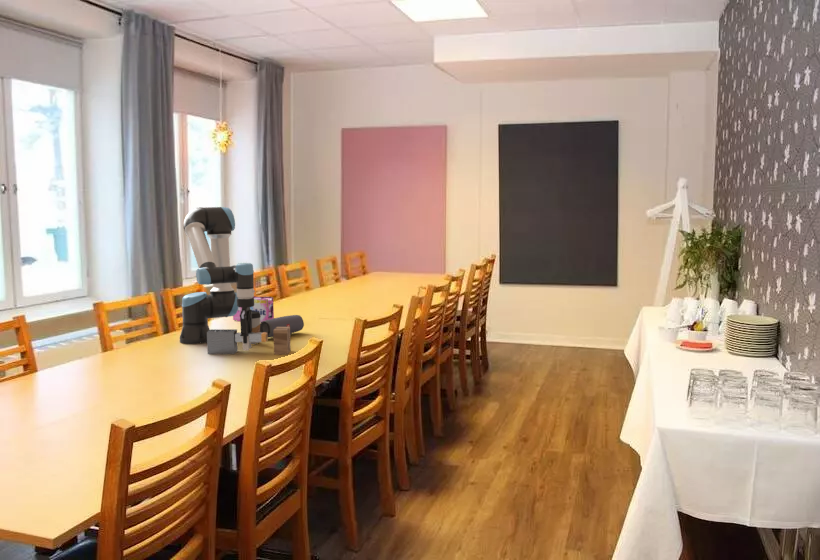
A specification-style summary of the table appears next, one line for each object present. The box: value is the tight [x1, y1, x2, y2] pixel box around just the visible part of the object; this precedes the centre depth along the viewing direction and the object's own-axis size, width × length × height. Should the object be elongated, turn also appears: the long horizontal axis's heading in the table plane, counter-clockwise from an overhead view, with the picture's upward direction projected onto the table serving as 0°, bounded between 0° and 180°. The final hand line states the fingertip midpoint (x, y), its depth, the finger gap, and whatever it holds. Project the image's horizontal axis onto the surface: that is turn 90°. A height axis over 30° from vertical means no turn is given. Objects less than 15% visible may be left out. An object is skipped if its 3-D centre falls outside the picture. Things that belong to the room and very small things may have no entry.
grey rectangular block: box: [206, 328, 239, 355], centre depth 326 cm, size 6×12×10 cm, turn 89°
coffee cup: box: [251, 311, 261, 345], centre depth 345 cm, size 8×8×15 cm
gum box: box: [232, 295, 275, 323], centre depth 407 cm, size 24×8×14 cm, turn 68°
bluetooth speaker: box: [260, 314, 305, 339], centre depth 362 cm, size 23×9×10 cm, turn 143°
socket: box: [273, 327, 292, 355], centre depth 325 cm, size 8×6×11 cm
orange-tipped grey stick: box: [234, 332, 269, 343], centre depth 325 cm, size 4×25×4 cm, turn 89°
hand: (247, 349), depth 326 cm, fingers closed on orange-tipped grey stick, 4 cm apart
